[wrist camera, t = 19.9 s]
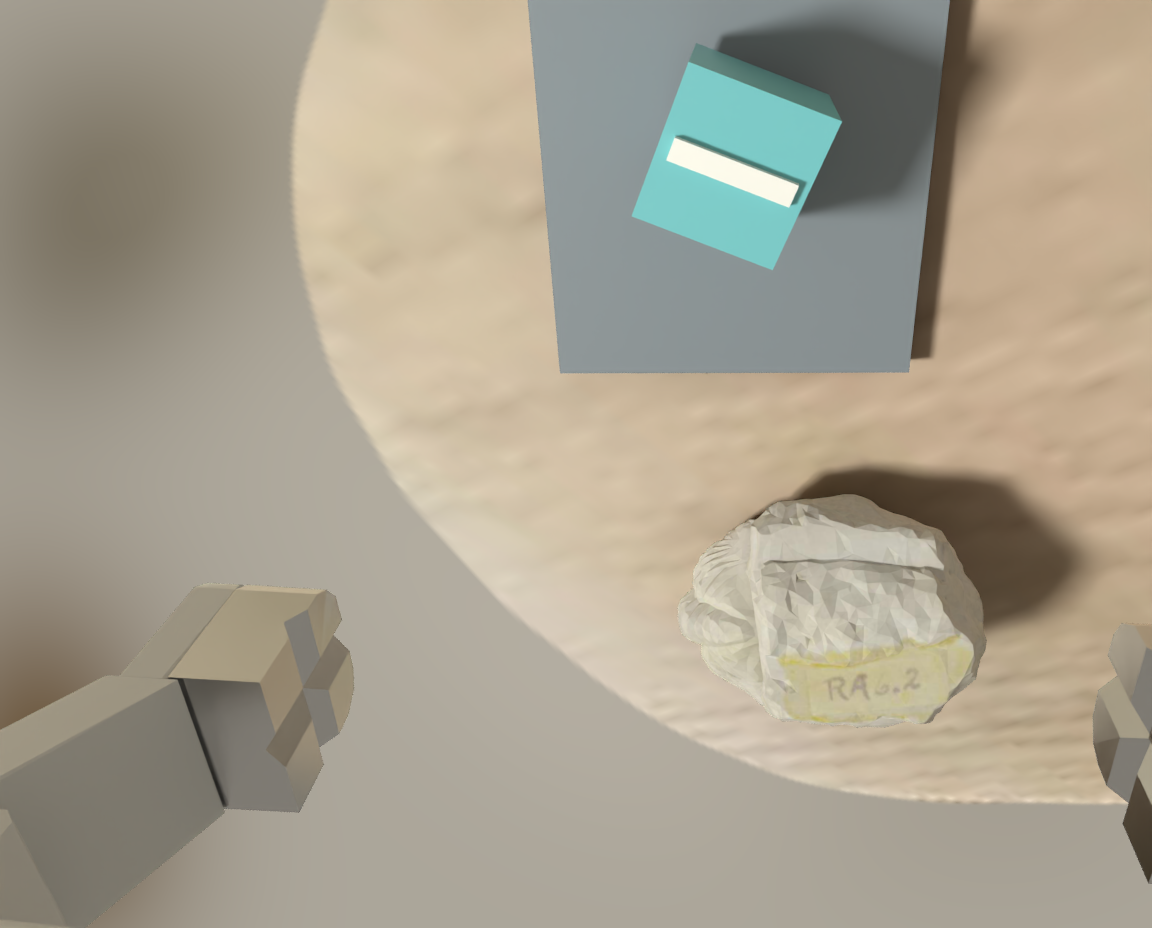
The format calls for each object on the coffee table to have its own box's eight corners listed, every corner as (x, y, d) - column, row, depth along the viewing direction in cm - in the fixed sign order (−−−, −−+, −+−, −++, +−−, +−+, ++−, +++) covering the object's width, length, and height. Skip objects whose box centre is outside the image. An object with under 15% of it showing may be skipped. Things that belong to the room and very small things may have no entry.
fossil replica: (648, 529, 44) (761, 658, 48) (626, 662, 38) (760, 799, 42) (885, 415, 39) (993, 572, 43) (909, 548, 32) (1033, 720, 36)
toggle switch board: (904, 360, 38) (927, 423, 33) (564, 361, 41) (540, 420, 36) (961, -173, 29) (1003, -191, 25) (523, -131, 32) (484, -141, 27)
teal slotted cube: (696, 42, 32) (687, 63, 27) (828, 94, 32) (843, 123, 27) (645, 179, 34) (630, 218, 30) (769, 226, 34) (772, 273, 30)
